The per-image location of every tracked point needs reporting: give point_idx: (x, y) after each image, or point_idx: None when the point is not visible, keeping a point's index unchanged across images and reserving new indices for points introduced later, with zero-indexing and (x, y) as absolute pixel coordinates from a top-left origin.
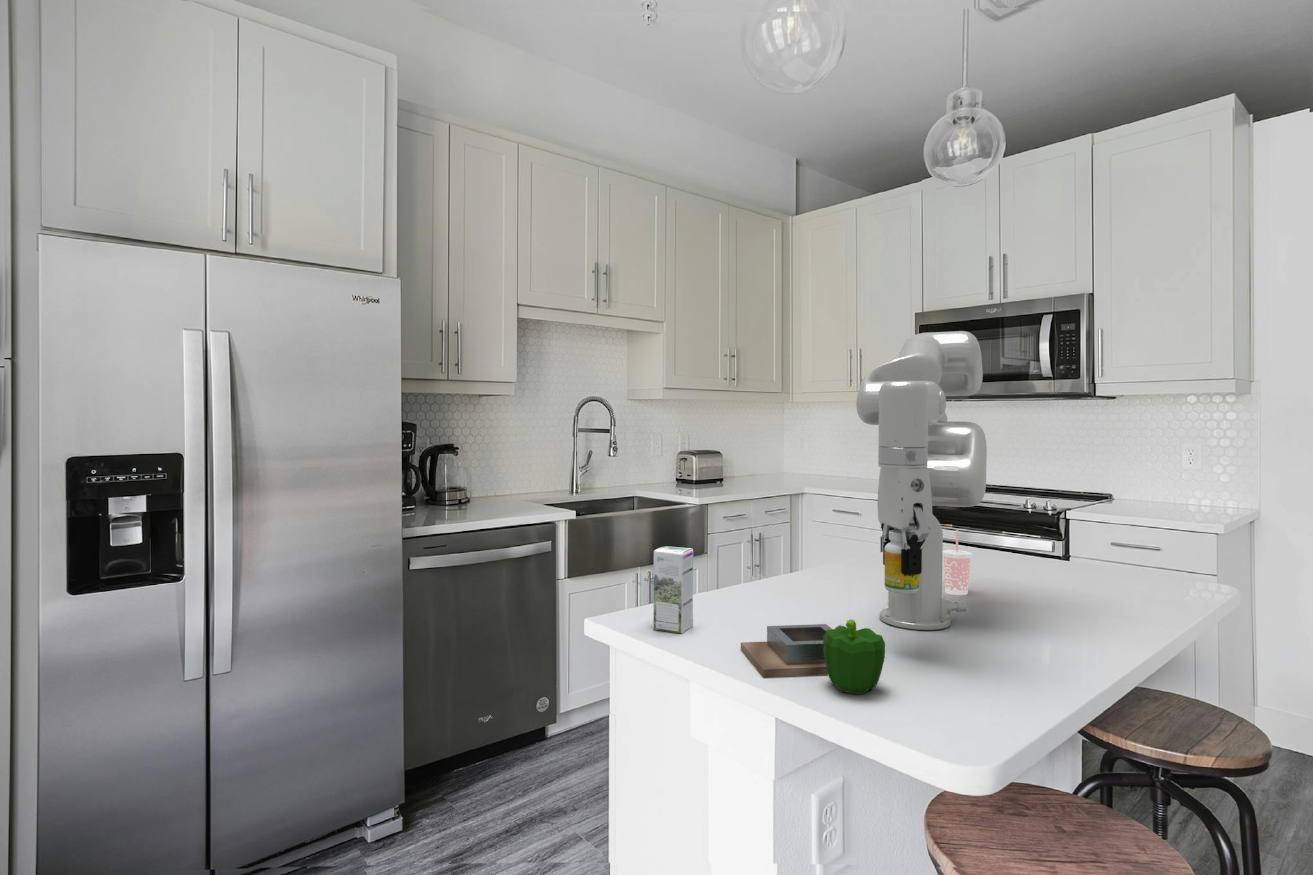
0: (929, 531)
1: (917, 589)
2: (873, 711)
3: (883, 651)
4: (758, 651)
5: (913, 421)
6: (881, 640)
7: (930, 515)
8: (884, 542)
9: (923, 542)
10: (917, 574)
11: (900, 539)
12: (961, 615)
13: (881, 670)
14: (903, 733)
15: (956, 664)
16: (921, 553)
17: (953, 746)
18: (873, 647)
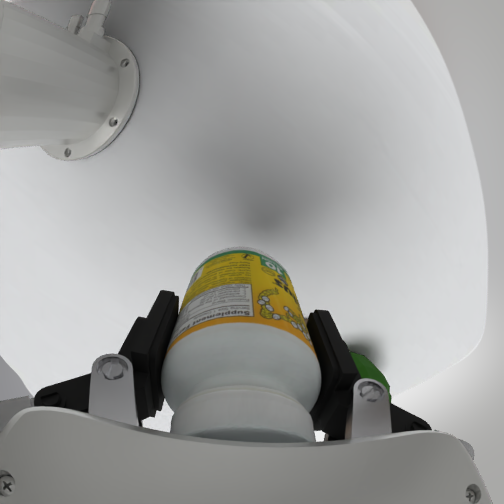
0: (472, 448)
1: (287, 274)
2: (394, 372)
3: (386, 381)
4: None
5: None
6: (388, 391)
7: (481, 496)
8: (153, 415)
9: (412, 416)
10: (297, 300)
11: None
12: (86, 5)
13: (371, 362)
14: (431, 365)
15: (326, 180)
16: (349, 358)
17: (461, 341)
18: (390, 400)
